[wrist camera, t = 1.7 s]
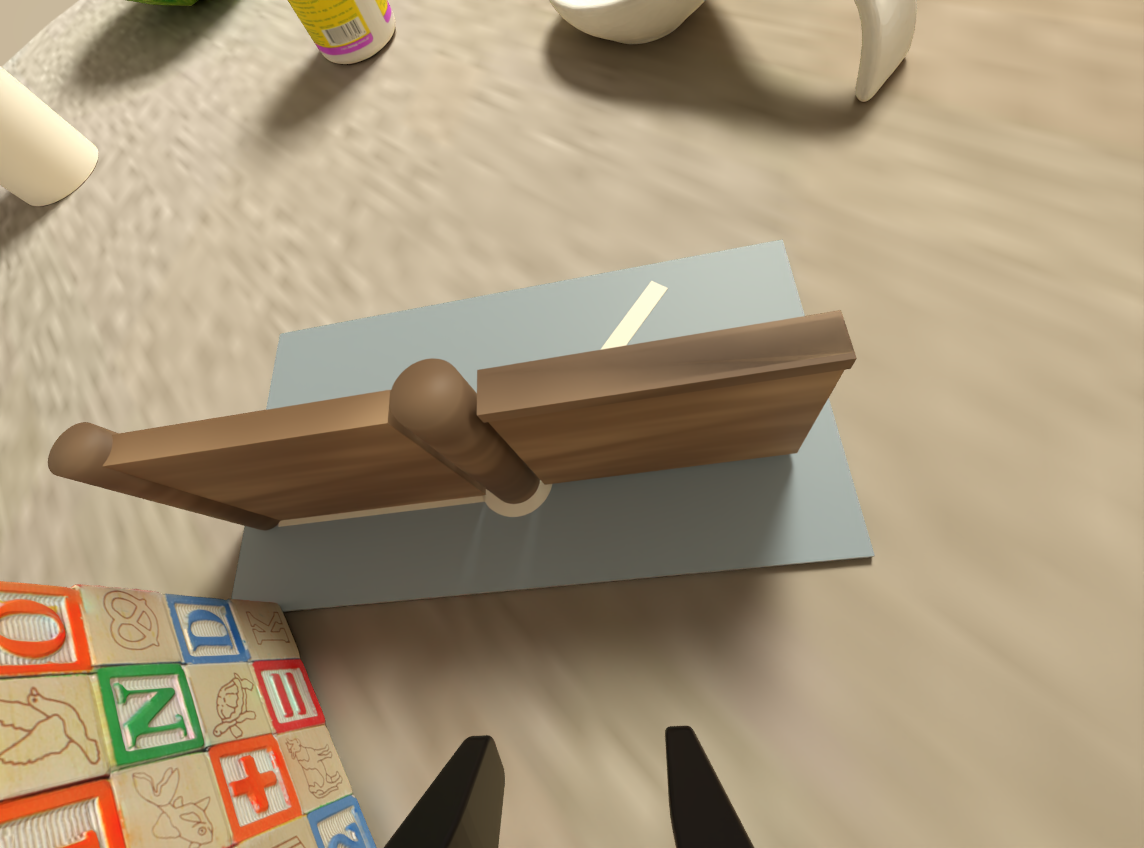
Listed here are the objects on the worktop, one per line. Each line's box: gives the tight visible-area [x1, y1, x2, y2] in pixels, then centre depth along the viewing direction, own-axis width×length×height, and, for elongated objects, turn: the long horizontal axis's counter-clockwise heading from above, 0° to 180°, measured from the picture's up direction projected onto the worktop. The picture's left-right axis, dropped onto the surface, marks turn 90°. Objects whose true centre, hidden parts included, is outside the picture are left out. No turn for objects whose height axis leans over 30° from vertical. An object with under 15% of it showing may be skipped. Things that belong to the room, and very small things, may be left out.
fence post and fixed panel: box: [48, 358, 540, 530], centre depth 22 cm, size 2×15×10 cm, turn 94°
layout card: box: [231, 240, 875, 612], centre depth 26 cm, size 16×29×1 cm, turn 94°
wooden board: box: [477, 310, 857, 485], centre depth 19 cm, size 2×11×8 cm, turn 94°
